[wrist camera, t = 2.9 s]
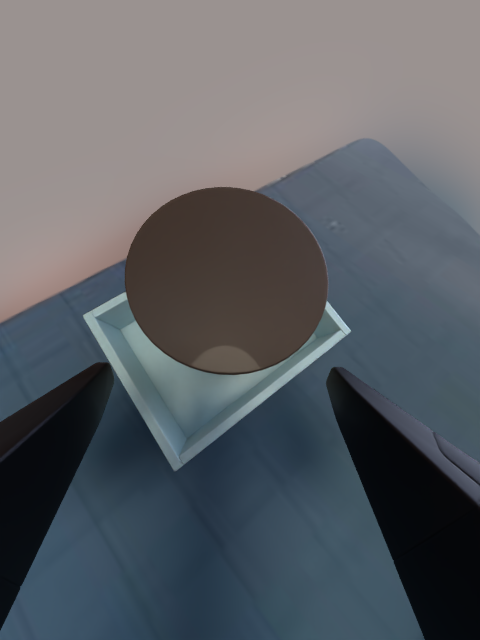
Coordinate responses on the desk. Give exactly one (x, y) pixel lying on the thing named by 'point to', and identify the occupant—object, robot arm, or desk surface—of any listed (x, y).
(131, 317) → the tub
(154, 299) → the cup
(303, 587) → the desk surface
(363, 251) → the desk surface
